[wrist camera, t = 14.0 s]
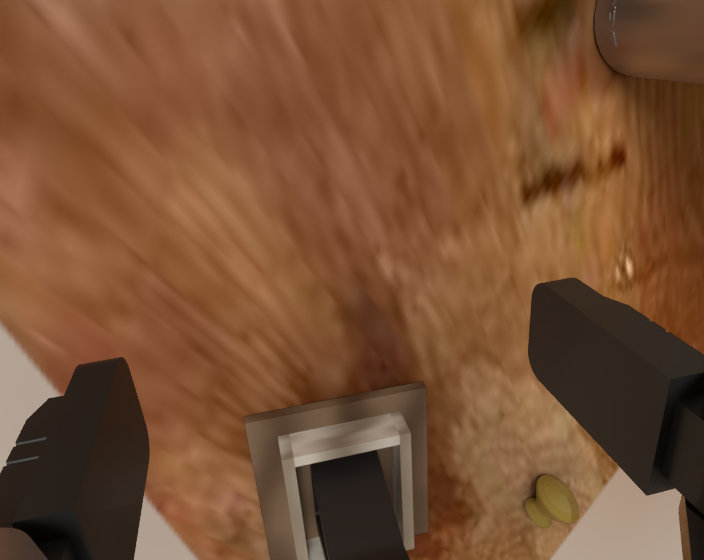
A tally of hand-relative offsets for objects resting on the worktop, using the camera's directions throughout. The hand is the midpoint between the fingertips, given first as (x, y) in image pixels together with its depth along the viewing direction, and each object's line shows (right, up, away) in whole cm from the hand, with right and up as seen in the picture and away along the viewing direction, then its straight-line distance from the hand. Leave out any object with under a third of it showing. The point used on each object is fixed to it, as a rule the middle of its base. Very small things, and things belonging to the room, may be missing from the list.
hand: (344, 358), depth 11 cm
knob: (+20, -21, +49) cm, 56 cm away
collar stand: (-1, -17, +41) cm, 45 cm away
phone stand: (-1, -17, +40) cm, 44 cm away
